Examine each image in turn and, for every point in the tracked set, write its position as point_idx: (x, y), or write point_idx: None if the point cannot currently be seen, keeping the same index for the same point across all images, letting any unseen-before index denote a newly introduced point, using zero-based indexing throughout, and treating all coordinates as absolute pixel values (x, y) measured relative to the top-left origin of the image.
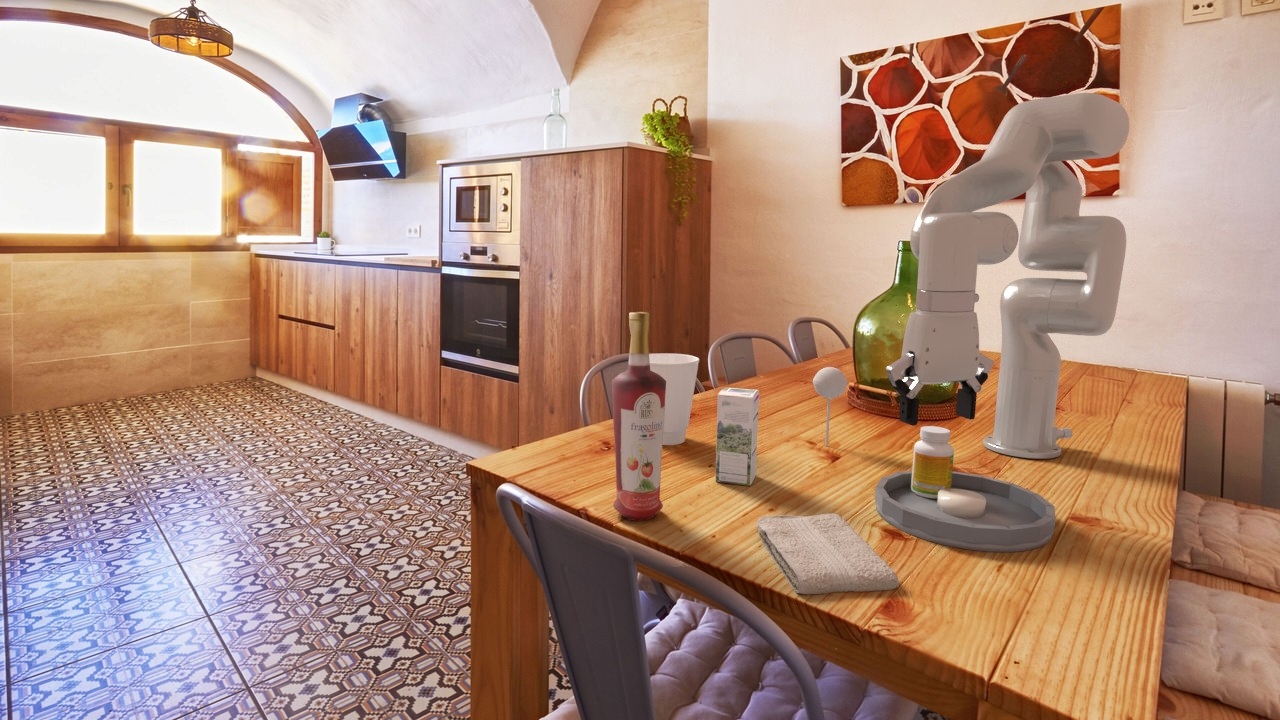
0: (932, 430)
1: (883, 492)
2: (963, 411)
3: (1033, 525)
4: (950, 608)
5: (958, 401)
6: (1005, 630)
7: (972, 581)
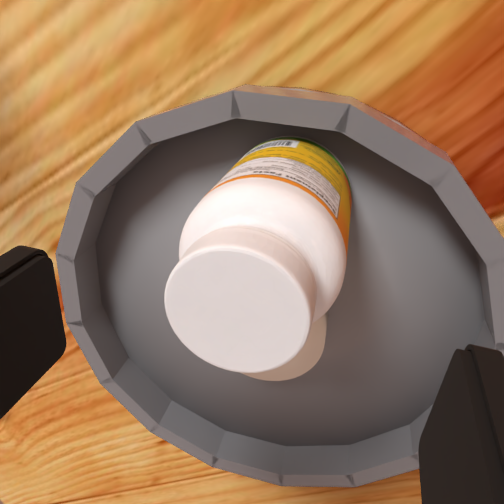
0: (203, 321)
1: (75, 227)
2: (440, 430)
3: (270, 478)
4: (37, 453)
5: (466, 447)
6: (69, 496)
7: (103, 439)
